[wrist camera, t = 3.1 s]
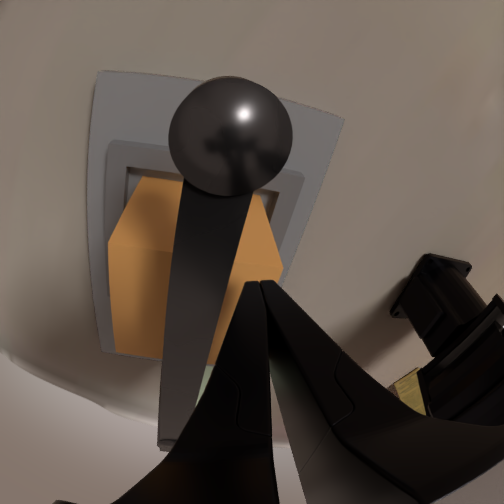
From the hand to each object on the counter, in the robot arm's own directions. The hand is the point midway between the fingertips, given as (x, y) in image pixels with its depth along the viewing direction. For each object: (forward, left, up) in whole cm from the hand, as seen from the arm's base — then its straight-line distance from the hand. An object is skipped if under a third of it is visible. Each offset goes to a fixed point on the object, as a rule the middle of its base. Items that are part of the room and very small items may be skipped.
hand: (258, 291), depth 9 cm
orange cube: (+2, +3, -7) cm, 8 cm away
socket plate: (+2, +5, -8) cm, 10 cm away
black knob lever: (+2, +4, -7) cm, 8 cm away
